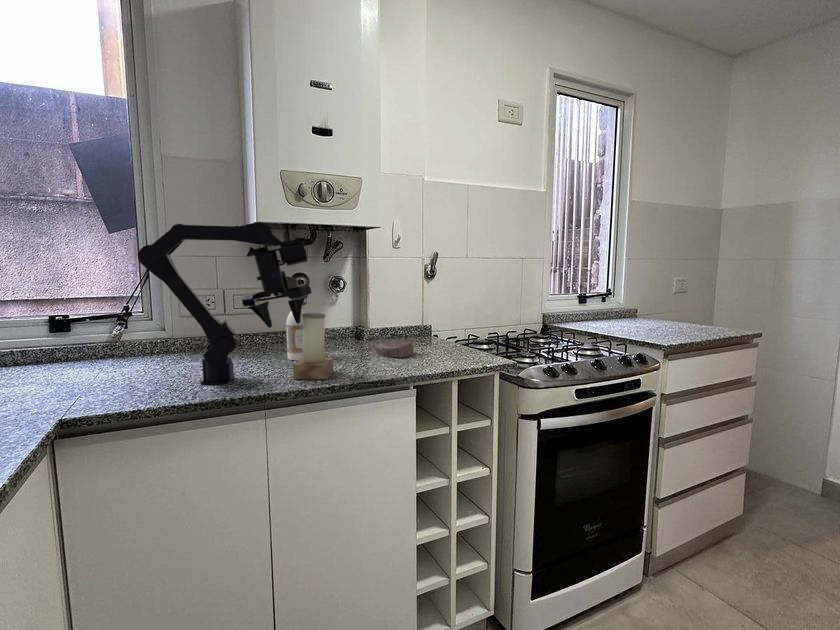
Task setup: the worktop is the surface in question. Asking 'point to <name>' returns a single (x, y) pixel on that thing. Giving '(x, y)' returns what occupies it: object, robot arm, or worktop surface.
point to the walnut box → (313, 369)
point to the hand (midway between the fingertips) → (284, 325)
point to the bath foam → (294, 337)
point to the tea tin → (313, 337)
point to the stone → (395, 349)
